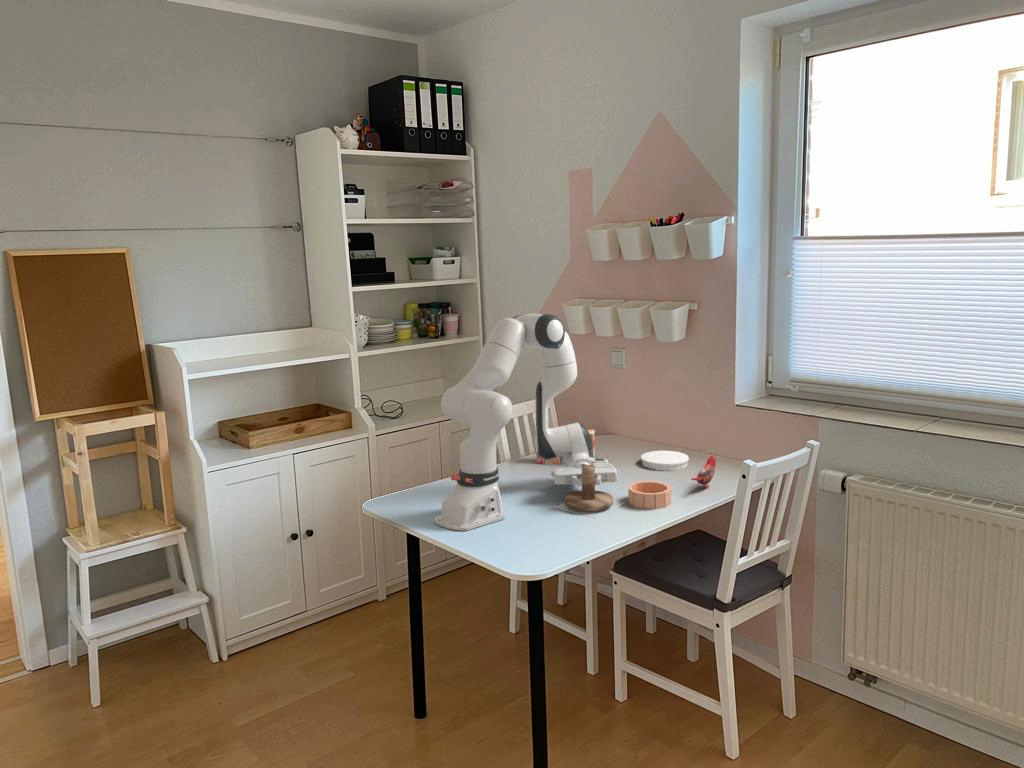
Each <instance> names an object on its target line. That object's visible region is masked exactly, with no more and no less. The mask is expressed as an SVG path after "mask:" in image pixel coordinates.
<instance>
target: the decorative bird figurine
mask: <svg viewBox="0 0 1024 768" xmlns="http://www.w3.org/2000/svg"><path fill="white" fill-rule="evenodd" d="M716 465H717V459H716V457H715V456H714V455H711V456H710V457H709V458H707V461H706V463H705V465H703V467H702V469H701V470H700V471H699V473H698V474H697V475H696V477H691V478H690V480H692V481H696V482H697V484H699V485H702V486H703V488H702V490H705V489H708V488H709V487H710V484H709V483H711V481H712V479H713V478H714V475H715V471H716Z"/></svg>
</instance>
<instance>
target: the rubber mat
mask: <svg viewBox="0 0 1024 768" xmlns="http://www.w3.org/2000/svg"><path fill="white" fill-rule="evenodd" d="M625 504H626V502H622V501H619V500H614V499H613V504H612V506H610V507H609V508H606V509H602V510H596V511H582V510H576V509H572V508H569V507H567V506H566V505H565V503H564V502H561V503H560V504H558V505H556V506H553V508H554V509H558V510H562V511H566V512H568V513H569V512H570V513H572V514H578V515H581V516H582V515H583V516H585V517H591V518H594V519H597V518H599V517H601V516H603V515H605V514H607V513H609V512H611V511H613V510H615V509H617V508H618V507H621V506H623V505H625Z"/></svg>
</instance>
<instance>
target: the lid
mask: <svg viewBox="0 0 1024 768" xmlns="http://www.w3.org/2000/svg"><path fill="white" fill-rule="evenodd" d="M640 461H641V465H642V466H643V465H644V466H645V467H644V466H643V467H644V468H646V467H648V468H647V469H649V468H651V469H650V470H653V469H658V470H657V471H660V470H672V471H678V470H677V469H679V470H682V469H681V468H683V469H685V468H686V466H688V465H689V461H690V457H689V455H688V454H686V453H683V452H681V451H674V450H653V451H652V450H651V451H647V452H645V453H642V454H641V455H640ZM684 467H685V468H684Z"/></svg>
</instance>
